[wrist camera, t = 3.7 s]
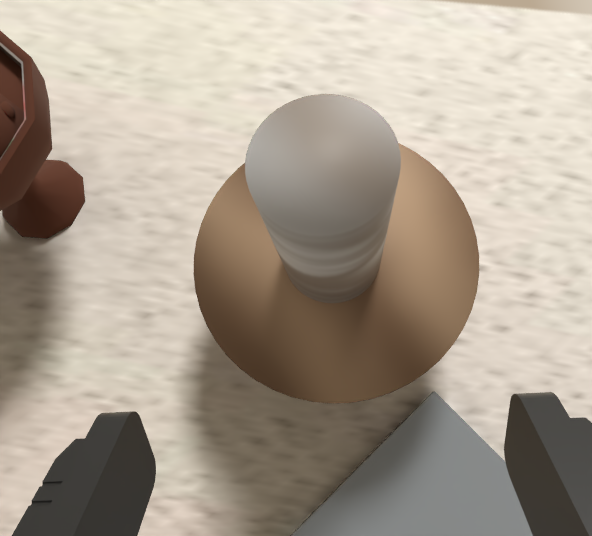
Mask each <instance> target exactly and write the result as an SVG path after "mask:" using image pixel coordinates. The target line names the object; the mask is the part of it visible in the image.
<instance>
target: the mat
mask: <svg viewBox="0 0 592 536" xmlns="http://www.w3.org/2000/svg"><path fill="white" fill-rule="evenodd" d="M291 536H533V535H532V532H531V530H530V527H529V525H528V522H527V520H526V517H525V514H524V512H523V509H522V507H521V504H520V502H519V499H518V497H517V494H516V492H515V489H514V487H513V484H512V482H511V479H510V476H509V474H508V470H507V466H506V462H505V461H504V460H503V459H502V458H501V457H500V456H499V455H498V454H497V453H496V452H495V451H494V450H493V449H492V448H491V447H490V446H489V445H488V444H487V443H486V442H485V441H484V440H483V439H482V438H481V437H480V436H479V435H478V434H477V433H476V432H475V431H474V430H473V429H472V428H471V427H470V426H469V425H468V424H467V423H466V422H465V421H464V420H463V419H462V418H461V417H460V416H459V415H458V414H457V413H456V412H455V411H454V410H453V409H452V408H451V407H450V406H449V405H448V404H447V403H446V402H445V401H444V400H443V399H442V398H441V397H440V396H439V395H438V394H437V393H436V392H432V393H431V394H430V395H429V396H428V397H427V398H426V399H425V400H424V401H423V402H422V403H421V404H420V405H419V406H418V407H417V408H416V409H415V410H414V411H413V412H412V413H411V414H410V415H409V416H408V417H407V418H406V419H405V420H404V421H403V422H402V424H401V425H400V426H399V427H398V428H397V429H396V430H395V431H394V432H393V433H392V434H391V435H390V436H389V437H388V438H387V439H386V440H385V441H384V442H383V443H382V444H381V445H380V446H379V447H378V448H377V449H376V450H375V451H374V452H373V453H372V454H371V455H370V456H369V457H368V458H367V459H366V460H365V461H364V462H363V463H362V464H361V465H360V466H359V467H358V468H357V469H356V470H355V471H354V472H353V473H352V474H351V475H350V476H349V477H348V478H347V479H346V480H345V481H344V482H343V483H342V484H341V485H340V486H339V487H338V488H337V489H336V490H335V491H334V492H333V493H332V494H331V495H330V496H329V497H328V498H327V499H326V500H325V501H324V502H323V503H322V504H321V505H320V506H319V507H318V508H317V509H316V511H315V512H314V513H313V514H312V515H311V516H310V517H309V518H308V519H307V520H306V521H305V522H304V523H303V524H302V525H301V526H300V527H299V528H298V529H297V530H296V531H295V532H294V533H293V534H292V535H291Z"/></svg>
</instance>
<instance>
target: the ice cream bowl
mask: <svg viewBox="0 0 592 536" xmlns="http://www.w3.org/2000/svg"><path fill="white" fill-rule="evenodd" d="M51 150H52V139H51V125H50V111H49V99H48V95H47V90H46V86H45V81H44V79H43V77H42V75H41V73H40V72H39V70H38V68H37V66H36V65H35V63H34V61H33V59H32V58H31V57H30V56H29V55H28V54H27V53H26V52H24V51H23V50H22V49H21V48H20V47H19V46H17V45H16V44H15V43H14V42H13V41H12V40H10V39H9V38H8V37H7V36H6V35H5V34H3V33H2V32H1V31H0V211H1V210H3V217H4V218H5V220H6V221H7V222H8V223H9V224H10V225H11V226H12V227H13V228H14V229H15V230H16V231H17V232H18V233H19V234H20V235H21V236H22V237H35V238H49V237H51V236H52V235H54V234H56V233H58V232H59V231H61V230H63V229H65V228H66V227H68V226H70V225H72V223H73V221H74V219H75V218H76V216H77V214H78V212H79V211H80V209H81V207H82V206H83V204H84V202H85V196H84V185H83V177H82V176H81V175H80V174H78V173H77V172H76V171H75V170H74V169H73V168H72V167H71V166H70V165H69V164H68V163H66V162H63V161H59V160H46V158H47V157H48V155H49V153H50V152H51Z"/></svg>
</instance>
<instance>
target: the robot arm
mask: <svg viewBox="0 0 592 536" xmlns="http://www.w3.org/2000/svg"><path fill="white" fill-rule="evenodd" d="M504 453H505V461H506V466H507V470H508V474H509V476H510V479H511V482H512V484H513V487H514V489H515V492H516V494H517V497H518V499H519V502H520V504H521V507H522V509H523V512H524V514H525V517H526V520H527V522H528V525H529V527H530V530H531V532H532V535H533V536H592V423H591V422H590V421H589V420H588V419H586V418H570V417H569V416H568V414H567V412H566V411H565V409H564V407H563V405H562V404H561V402H560V400H559V399H558V397H557V396H556V395H555V394H554V393H552V392H546V393H526V394H513V395H512V397H511V401H510V408H509V415H508V422H507V429H506V437H505V444H504ZM155 475H156V464H155V458H154V455H153V452H152V449H151V447H150V444H149V441H148V438H147V435H146V433H145V430H144V427H143V424H142V421H141V418H140V416H139V414H138V413H137V412H116V413H102V414H100V415H98V417H97V418H96V419H95V421H94V423H93V425H92V427H91V429H90V431H89V432H88V434H87V436H86V438H85V439H75V440H74V441H73V442H72V443H71V444H70V445H69V446H68V447H67V448H66V449H65V450H64V451H63V452H62V453H61V454H60V455H59V456H58V457H57V458H56V459H55V461H54V463H53V464H52V466H51V468H50V470H49V471H48V473H47V475H46V477H45V478H44V480H43V485H42V486H41V487H39V489H38V491H37V492H36V494H35V496H34V498H33V500H32V505H31V506H29V507H28V508H27V510H26V512H25V514H24V515H23V517H22V519H21V521H20V522H19V524H18V526H17V528H16V529H15V531H14V533H13V535H12V536H137V535H138V532H139V529H140V526H141V523H142V520H143V517H144V514H145V511H146V508H147V505H148V502H149V499H150V496H151V493H152V490H153V487H154V483H155Z"/></svg>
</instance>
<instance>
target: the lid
mask: <svg viewBox="0 0 592 536" xmlns="http://www.w3.org/2000/svg"><path fill="white" fill-rule="evenodd" d="M478 278H479V252H478V246H477V239H476V235H475V231H474V228H473V225H472V221H471V219H470V216H469V214H468V212H467V210H466V207H465V205H464V203H463V202H462V200H461V198H460V197H459V195H458V194H457V192H456V190H455V189H454V187H453V186H452V185H451V184H450V183H449V181H448V180H447V179H446V178H445V177H444V175H443V174H442V173H441V172H439V171H438V170H437V169H436V168H435V167H434V166H433V165H432V164H431V163H430V162H428V161H427V160H426V159H424V158H423V157H421V156H420V155H419V154H417V153H416V152H414V151H412V150H410V149H409V148H407V147H405V146H403V145H401V144H399V143H398V141H397V139H396V136H395V134H394V132H393V130H392V129H391V127H390V125H389V124H388V123H387V122H386V120H385V119H384V118H383V117H382V116H381V115H380V114H379V113H378V112H377V111H375V110H374V109H372V108H371V107H370V106H368V105H366V104H364V103H362V102H361V101H358V100H355V99H353V98H350V97H346V96H341V95H334V94H319V95H311V96H306V97H302V98H299V99H296V100H293V101H291V102H289V103H287V104H285V105H283V106H282V107H280V108H278V109H277V110H276V111H274V112H273V113H272V114H270V115H269V116H268V117H267V118H266V119H265V120H264V121H263V122H262V124H261V125H260V126H259V127H258V129H257V130H256V132H255V134H254V135H253V137H252V139H251V142H250V144H249V147H248V150H247V154H246V160H245V163H244V164H243V165H242V166H241V167H239V168H238V169H237V170H236V171H235V172H234V173H233V174H232V175H231V176H230V177H229V178H228V179H227V181H226V182H225V183H224V185H223V186H222V187H221V188H220V190H219V191H218V192H217V194H216V196H215V197H214V199H213V201H212V202H211V204H210V206H209V207H208V210H207V212H206V214H205V216H204V219H203V221H202V223H201V227H200V230H199V234H198V237H197V241H196V248H195V254H194V281H195V289H196V294H197V298H198V302H199V306H200V310H201V312H202V315H203V317H204V320H205V322H206V324H207V326H208V328H209V330H210V332H211V333H212V335H213V337H214V339H215V340H216V342H217V343H218V344H219V346H220V347H221V348H222V350H223V351H224V352H225V354H226V355H227V356H228V357H229V358H230V359H231V360H232V361H233V362H234V363H235V364H236V365H237V366H238V367H239V368H240V369H241V370H243V371H244V372H245V373H247V374H248V375H250V376H251V377H252V378H254V379H255V380H256V381H258V382H260V383H262V384H264V385H265V386H267V387H269V388H271V389H273V390H275V391H278V392H280V393H283V394H286V395H288V396H291V397H295V398H299V399H303V400H307V401H312V402H322V403H352V402H358V401H363V400H369V399H373V398H376V397H379V396H382V395H385V394H388V393H391V392H393V391H395V390H397V389H399V388H401V387H403V386H405V385H407V384H409V383H411V382H412V381H414V380H415V379H417V378H418V377H420V376H421V375H423V374H424V373H426V372H427V371H428V370H429V369H430V368H431V367H433V366H434V365H435V364H436V363H437V362H438V361H439V360H440V359H441V358H442V357H443V356H444V355H445V354H446V352H447V351H448V350H449V349H450V348H451V346H452V345H453V344H454V342H455V341H456V339H457V338H458V336H459V334H460V333H461V331H462V330H463V328H464V326H465V324H466V321H467V319H468V317H469V315H470V312H471V310H472V307H473V303H474V300H475V296H476V293H477V285H478Z"/></svg>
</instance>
